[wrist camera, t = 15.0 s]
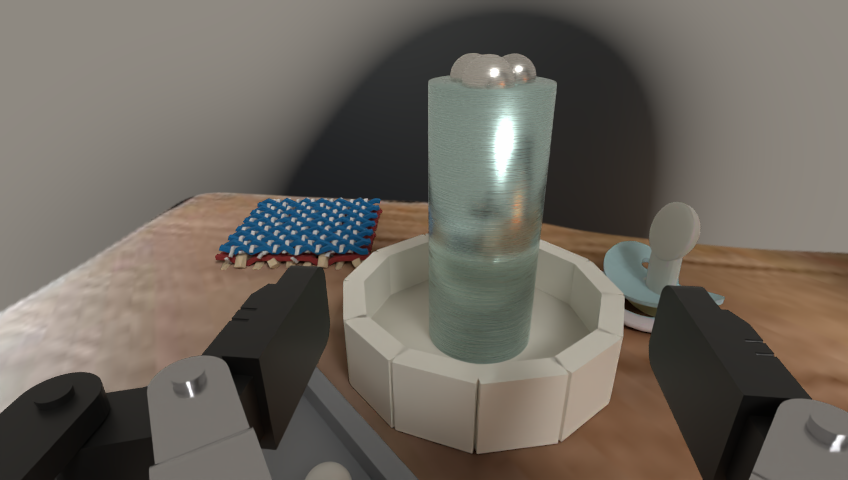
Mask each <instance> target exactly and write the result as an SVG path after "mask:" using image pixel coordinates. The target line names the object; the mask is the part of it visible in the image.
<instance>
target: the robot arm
mask: <svg viewBox="0 0 848 480" xmlns="http://www.w3.org/2000/svg"><path fill="white" fill-rule="evenodd" d="M329 329H330V318H329V309H328V299H327V290H326V281H325V273H324V270H323V268H322V267H316V266H297V265H291V266H290V267H289V268H288V269H287V270H286V272H285V273H284V274H283V276H282V277H281V278H280V280H279V281H278V282H277V284H267V285H266V286H264V287H262V288H261V289H259V290H258V291H256V292H254V293H253V294H251V295H250V297H249V298H248V299H247V300H246V302H245V303H244V304H243V305H242V306H241V310H238V311H237V312H236V314H235V315H234V316H233V317H232V321H229V322H228V323H227V325H226V326H225V327H224V328H223V330H222V331H221V332H220V333H219V334H218V336H217V337H216V338H215V339H214V341H213V342H212V343H211V344H210V345H209V347H208V348H207V349H206V350H205V352H204V353H203V354H202V355H201V356H194V357H189V358H185V359H182V360H180V361H177V362H175V363H173V364H171V365H169V366H167V367H165V368H164V369H163V370H161V371H160V372H159V373H158V374H157V375H155V377H154V378H153V379H152V380H151V382H150V383H149V386H148V387H143V388H136V389H130V390H123V391H117V392H110V393H106V392H105V390H104V387H103V384H102V382H101V380H100V378H99V377H98V376H96V375H94V374H91V373H86V372H76V373H68V374H64V375H60V376H57V377H54V378H51V379H48V380H46V381H44V382H42V383H39V384H37V385H36V386H34V387H32V388H30V389H29V390H27V391H26V392H24V393H23V394H22V395H21V396H19V397H18V398H17V399H16V400H15V401H14V402H13V403H12V404H10V405H9V406H8V407H7V408H6V409H5V410H4V411H3V412H2V413H0V480H272V478H271V475H270V473H269V470H268V467H267V464H266V461H265V459H264V456H263V453H262V450H261V449H270V450H277V448H278V446H279V443H280V441H281V439H282V437H283V435H284V433H285V431H286V429H287V427H288V424H289V422H290V420H291V418H292V416H293V414H294V412H295V410H296V408H297V405H298V403H299V401H300V399H301V397H302V395H303V393H304V391H305V389H306V386H307V384H308V382H309V380H310V378H311V376H312V374H313V372H314V370H315V367H316V365H317V363H318V361H319V359H320V357H321V355H322V353H323V351H324V348H325V346H326V344H327V341H328V337H329ZM649 360H650V364H651V368H652V370H653V372H654V374H655V377H656V379H657V381H658V383H659V385H660V387H661V390H662V392H663V394H664V396H665V398H666V400H667V403H668V405H669V407H670V409H671V411H672V413H673V416H674V418H675V420H676V422H677V424H678V426H679V429H680V431H681V433H682V435H683V437H684V439H685V442H686V444H687V446H688V448H689V450H690V452H691V455H692V457H693V459H694V461H695V463H696V465H697V468H698V470H699V472H700V474H701V476H702V478H703V480H848V412H846V411H844V410H842V409H839V408H837V407H835V406H832V405H829V404H827V403H823V402H820V401H816V400H812V398H811V397H810V396H809V395H808V394H807V393H806V391H805V390H804V389H803V388H802V387H801V385H800V384H799V383H798V382H797V381H796V379H795V378H794V377H793V376H792V375H791V373H790V372H789V371H788V370H787V369H786V367H785V366H784V365H783V364H782V363H781V361H780V360H779V359H778V358H777V357H774V353H773V352H772V351H771V349H770V348H769V347H768V346H767V345H766V343H763V340H762V339H761V337H760V336H759V335H758V334H757V333H756V331H755V330H754V329H753V328H752V327H751V325H750V324H748V323H747V322H745V321H744V320H742V319H741V318H739V317H738V316H736V315H735V314H733V313H732V312H730V311H729V310H721V309H720V307H719V306H718V305H717V304H716V302H715V301H714V300H713V299H712V297H711V296H710V295H709V293H708V292H707V291H706V290H705V289H704V288H703V287H695V286H675V285H666V286H665V287H664V288H663V290H662V292H661V295H660V299H659V303H658V307H657V311H656V316H655V320H654V324H653V328H652V332H651V337H650V341H649Z"/></svg>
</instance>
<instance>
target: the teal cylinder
mask: <svg viewBox="0 0 848 480" xmlns="http://www.w3.org/2000/svg"><path fill="white" fill-rule="evenodd" d="M556 88H557V83H556V82H555V81H553V80H550V79H546V78H541V77H536V71H535V68H534V65H533V64H532V62H531V61H530V60H529V59H528V58H527V57H525V56H523V55H520V54H509V55H506V56H504V57H500V56H497V55H493V54H486V55H480V54H477V53H470V54H466V55H463V56H462V57H460V58H459V59H458V60H457V61H456V62H455V64H454V65H453V67H452V69H451V74H450V76H443V77H438V78H434V79H431V80H429V82H428V119H429V120H428V127H429V128H428V129H429V130H428V144H429V145H428V150H429V151H428V152H429V153H428V155H429V156H428V157H429V158H428V159H429V161H428V162H429V163H428V164H429V166H428V167H429V168H428V169H429V170H428V171H429V173H428V175H429V177H428V178H429V336H430V339H431V341H432V342H433V344H434V345H435V346H436V347H437V348H438V349H439V350H440V351H441V352H443V353H444V354H446V355H448V356H450V357H452V358H454V359H457V360H460V361H463V362H468V363H475V364H493V363H499V362H503V361H507V360H509V359H512V358H514V357H516V356H517V355H519V354H520V353H521V352H522V351H523V350H524V349H525V348H526V347H527V345H528V342H529V337H530V328H531V319H532V309H533V300H534V291H535V282H536V272H537V263H538V254H539V245H540V235H541V226H542V217H543V207H544V198H545V189H546V180H547V171H548V161H549V152H550V143H551V133H552V124H553V115H554V106H555V97H556Z"/></svg>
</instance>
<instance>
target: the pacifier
mask: <svg viewBox="0 0 848 480" xmlns="http://www.w3.org/2000/svg"><path fill="white" fill-rule="evenodd" d="M700 228H701V225H700V220H699V217H698V215H697V213H696V211H695V210H694V209H693V208H692V207H690V206H689V205H687V204H685V203H682V202H672V203H670V204H667V205H666V206H664V207H663V208H662V209H661V210H660V211H659V212H658V213H657V215H656V216H655V218H654V220H653V222H652V225H651V228H650V234H649V243H650V247H649V246H648V245H645V244H643V243H640V242H636V241H625V242H620V243H618V244H616V245H614V246H613V247H612V248H611V249H609V251H608V252H607V253H606V255H605V258H604V271H602V272H603V273H604V274H605V275H606V276H607V277H608V278H609V279H610V280H611V281H612V282H613V283H614V284H615V285H616V286H617V287H618V288H619V289H620V290H621V291H622V293H623V294H624V295H623V296H625V298H626V299H628V300H629V302H630V303H631V304H632V305H634V306H635V307H636V308H637V309H639V310H640V311H642V312H644V313H646V314H648V315H650V316H653V317H646V316H641V315H638V314H635V313H632V312H630V311H628V310H626V309H624V325H626V326H628V327H631V328H634V329H637V330H640V331H645V332H652V328H653V324H654V320H655V316H656V311H657V307H658V303H659V299H660V295H661V292H662V290H663V288H664V287H665V286H666V285H675V286H681V285H680V284H679V280H678V276H679V272H680V268H681V263H682V259H683V257H684V256H685V255H687V254H688V253H689V252H690V251H691V250H692V249H693V248H694V246H695V245H696V243H697V241H698V238H699V236H700V230H701V229H700ZM644 262H648V263H649V265H648V269H646V268H644V267H643V266H642V263H644ZM708 293H709V295H710V296H711V297H712V299H713V300H714V301H715V302H716V304H717V305H720V304H722V303H723V301H724V299H725V297H723V296H721V295H718V294H714V293H710V292H708Z"/></svg>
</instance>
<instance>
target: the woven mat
mask: <svg viewBox="0 0 848 480" xmlns="http://www.w3.org/2000/svg"><path fill="white" fill-rule="evenodd" d="M275 200H276V199H273V200H272V199H269V198H268V199H266V200H264V201H263V202H259V203H258V206H257V207H258V208H257V209H255V210H252V212H251V213H250V214H251V216H249V217H248V218H247V217H246V218H245V220H244V221H243V222H244V224H242V225H241V226H238V227H237V229H236V230H235V231H237V232H236V233H234V234H233V235H230V236H229V238H228V240H229V242H227V243H225V244H224V245H221V246H220V248H219V250H220V251H224V252H221V254H217V255H216V256H215V258H216V260H225V262H224V263H223V265H222V267H221V269H220V270H226V269H227V268H228V267H229V265H230V264H231V263H234V264H235V265H234V267H235V268H246V266H249V265H251V264H253V263H254V262H256V261H257V262H256V263H255V265H254V267H253V270H260V269H261V267H262V266H263V265H264V264H265V262H266V261H267V263H268V265H269V267H270V268H271V269H274V268H278V267H279V265H280V264H281V262H282V261H286V268H289V267H290V266H291V265H296V264H297V263H298V262H299V261H305V263H304V265H303V266H312V264H315V265H317V267H322V268H328V266H330V265H331V264H333V263H334V262H337V263H336V267H335V270H340V269H341V268H342V266H343V264H344V262H345V261H352V264H353V266H354V267H355V268H357V267H358V266H359V265H360V264H361V263H362V262H363V261H364V260H365V259H367V258H368V257H369V256H370V255H371V253H369V251H371V250H372V245H371V244H373V240H374V237H376V234H375V232H373V231H376V228H377V223H378V219H379V218H380V216H379V215H380V213H382V210H381V208H379V205H377V206H375V205H372V204H375V203H379V204H380V200H381V199H377V198H374V199H372V200H370V201H368V199H364V200H363V199H361V197H360V198H358V199H356V200H354V199H351V200H350V202H348V201H346V200H344V199H343V198H338V199H337V200H335V201H334V199H330V201H328V200H327V199H323V198H321V199H319V200H317V201H316V200H315V199H311V200H310V199H309V198H305V199H304V200H301V199H297V200H296V202H295V201H293V200H290V198H286V199H284V200H283V201H282V200H281V199H277V201H275ZM275 206H276V207H275ZM306 250H307V251H306ZM334 255H335V256H334ZM316 256H319V257H318V258H316Z"/></svg>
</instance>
